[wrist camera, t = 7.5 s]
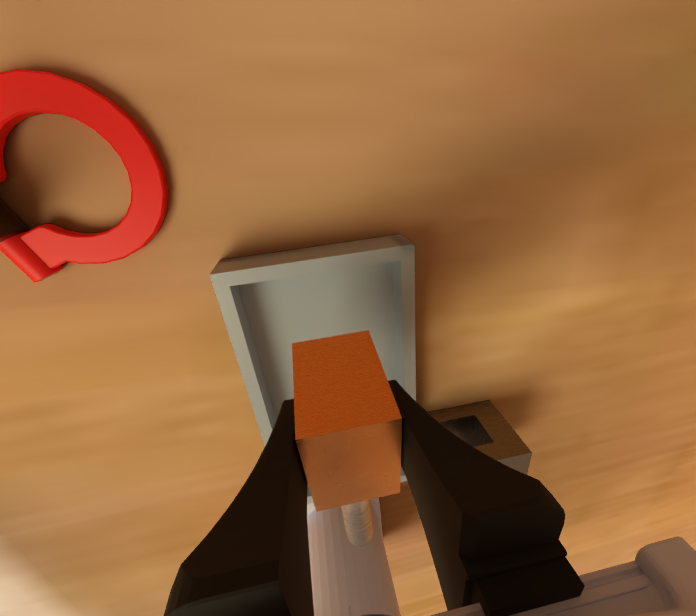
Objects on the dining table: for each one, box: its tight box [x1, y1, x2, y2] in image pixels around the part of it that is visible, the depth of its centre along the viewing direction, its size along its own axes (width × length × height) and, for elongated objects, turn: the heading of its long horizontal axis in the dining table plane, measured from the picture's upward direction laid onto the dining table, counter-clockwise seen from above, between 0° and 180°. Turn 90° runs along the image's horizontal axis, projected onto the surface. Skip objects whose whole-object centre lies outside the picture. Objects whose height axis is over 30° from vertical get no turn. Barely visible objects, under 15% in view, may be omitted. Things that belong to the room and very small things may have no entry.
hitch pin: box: [292, 330, 402, 547], centre depth 17 cm, size 15×4×5 cm, turn 6°
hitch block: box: [429, 400, 532, 475], centre depth 25 cm, size 5×7×5 cm
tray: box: [210, 234, 416, 503], centre depth 22 cm, size 20×11×2 cm, turn 6°
